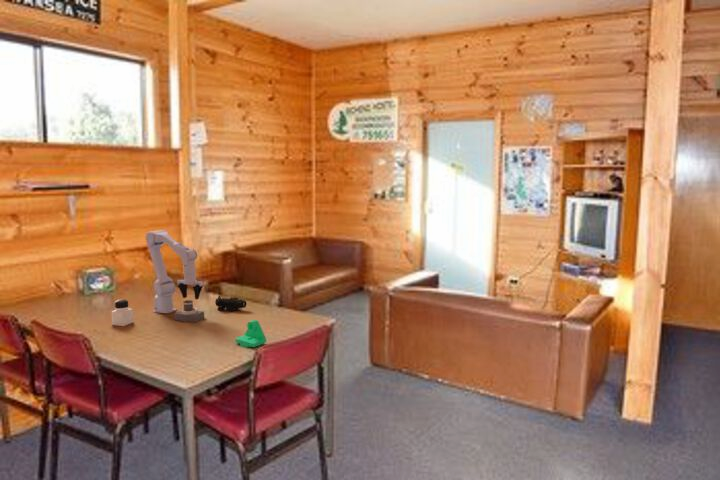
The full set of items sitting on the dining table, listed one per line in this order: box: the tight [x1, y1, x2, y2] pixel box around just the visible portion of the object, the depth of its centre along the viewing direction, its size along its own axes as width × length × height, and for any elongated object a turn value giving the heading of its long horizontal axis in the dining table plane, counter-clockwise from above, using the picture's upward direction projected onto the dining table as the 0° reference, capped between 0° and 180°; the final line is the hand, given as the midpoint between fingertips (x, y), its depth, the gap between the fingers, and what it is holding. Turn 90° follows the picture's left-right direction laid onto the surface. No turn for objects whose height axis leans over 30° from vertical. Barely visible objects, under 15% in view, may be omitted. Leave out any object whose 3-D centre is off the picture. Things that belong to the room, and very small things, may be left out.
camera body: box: [174, 307, 205, 323], centre depth 266 cm, size 12×8×5 cm, turn 71°
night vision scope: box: [215, 295, 247, 312], centre depth 281 cm, size 8×18×10 cm
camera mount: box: [234, 319, 267, 349], centre depth 228 cm, size 12×8×10 cm, turn 55°
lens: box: [182, 299, 194, 311], centre depth 265 cm, size 4×4×6 cm
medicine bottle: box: [111, 299, 134, 327], centre depth 258 cm, size 7×7×12 cm
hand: (190, 298), depth 269 cm, fingers open, 7 cm apart
